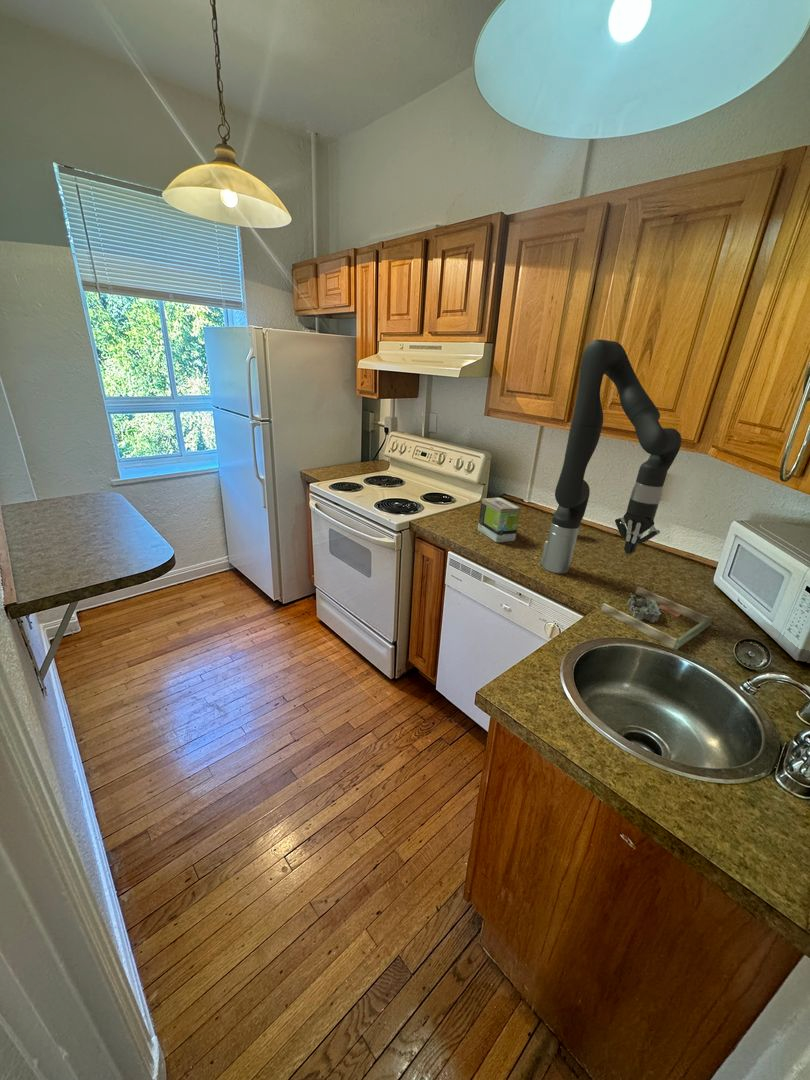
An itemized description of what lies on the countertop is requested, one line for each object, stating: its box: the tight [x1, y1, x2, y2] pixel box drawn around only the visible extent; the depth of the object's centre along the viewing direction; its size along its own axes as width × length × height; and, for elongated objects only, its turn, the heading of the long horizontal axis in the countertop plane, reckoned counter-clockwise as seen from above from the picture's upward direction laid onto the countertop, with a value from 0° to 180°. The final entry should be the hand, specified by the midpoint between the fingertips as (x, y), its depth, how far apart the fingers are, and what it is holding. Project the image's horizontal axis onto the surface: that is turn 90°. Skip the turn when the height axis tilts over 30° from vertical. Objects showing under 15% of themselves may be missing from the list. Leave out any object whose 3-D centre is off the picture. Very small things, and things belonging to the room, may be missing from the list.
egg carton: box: [627, 592, 662, 624], centre depth 128 cm, size 11×8×4 cm
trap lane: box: [600, 586, 713, 651], centre depth 125 cm, size 22×22×3 cm
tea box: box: [477, 497, 522, 543], centre depth 177 cm, size 15×10×15 cm, turn 22°
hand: (628, 553), depth 129 cm, fingers closed
